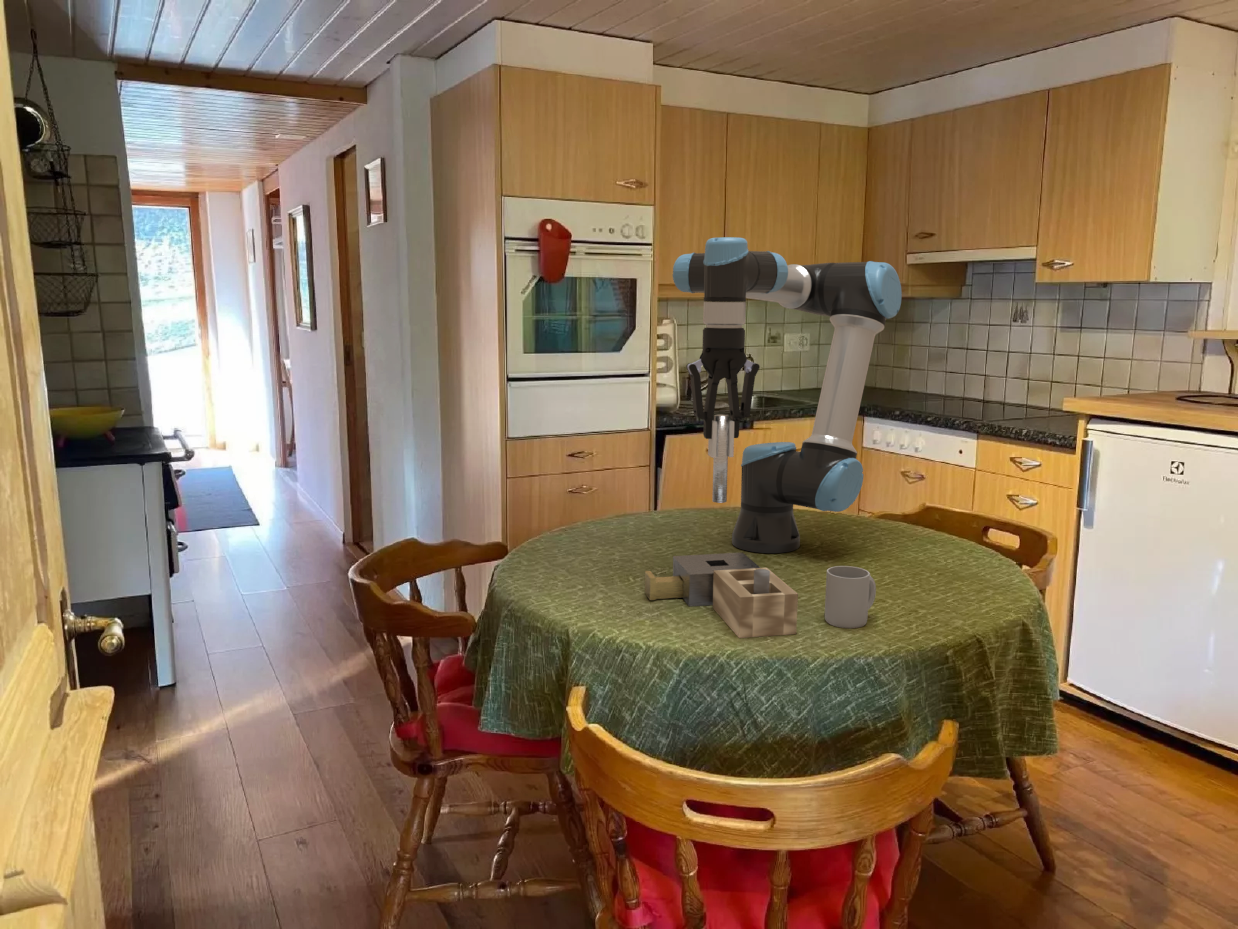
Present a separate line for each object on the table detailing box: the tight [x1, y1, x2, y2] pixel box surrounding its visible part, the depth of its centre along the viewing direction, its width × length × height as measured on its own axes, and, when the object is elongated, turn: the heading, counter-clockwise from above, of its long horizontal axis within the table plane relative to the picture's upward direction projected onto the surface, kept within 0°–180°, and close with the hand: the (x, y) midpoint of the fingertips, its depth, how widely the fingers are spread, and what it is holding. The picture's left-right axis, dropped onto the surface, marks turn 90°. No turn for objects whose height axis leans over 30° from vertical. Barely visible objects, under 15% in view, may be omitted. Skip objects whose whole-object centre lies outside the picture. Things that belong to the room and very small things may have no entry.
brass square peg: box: [644, 570, 683, 601], centre depth 173 cm, size 10×4×4 cm, turn 101°
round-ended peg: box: [711, 414, 730, 504], centre depth 169 cm, size 3×3×16 cm
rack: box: [712, 567, 799, 639], centre depth 160 cm, size 10×15×10 cm, turn 11°
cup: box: [824, 565, 877, 629], centre depth 160 cm, size 7×10×9 cm
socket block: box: [672, 552, 761, 607], centre depth 174 cm, size 14×12×6 cm
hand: (720, 455), depth 169 cm, fingers closed on round-ended peg, 3 cm apart
